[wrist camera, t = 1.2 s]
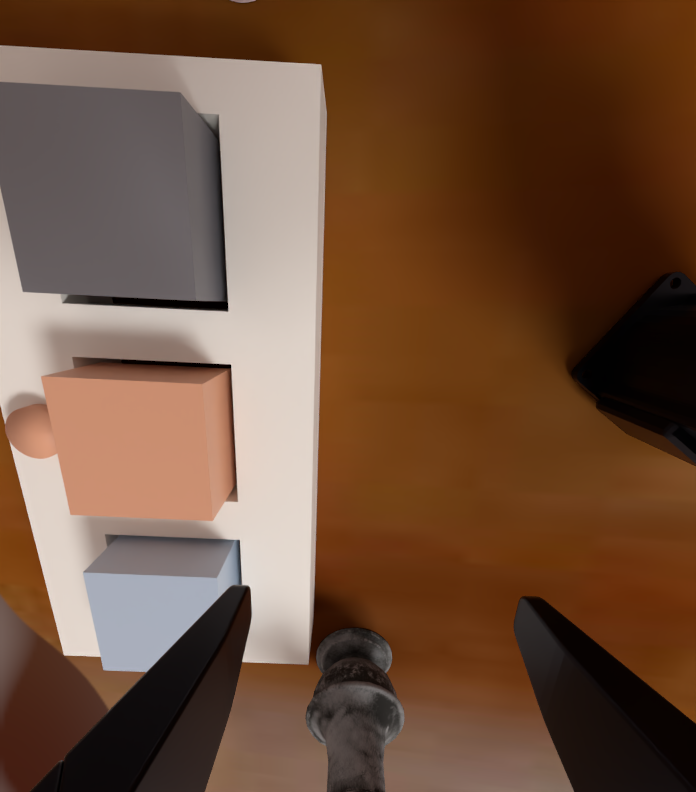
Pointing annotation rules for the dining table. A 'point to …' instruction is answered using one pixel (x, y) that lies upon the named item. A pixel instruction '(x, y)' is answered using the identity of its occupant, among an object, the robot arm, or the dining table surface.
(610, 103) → the dining table surface
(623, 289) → the dining table surface
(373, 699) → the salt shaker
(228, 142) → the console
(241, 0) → the smoothie
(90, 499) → the terracotta key
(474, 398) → the dining table surface
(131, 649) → the blue key
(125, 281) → the charcoal key
